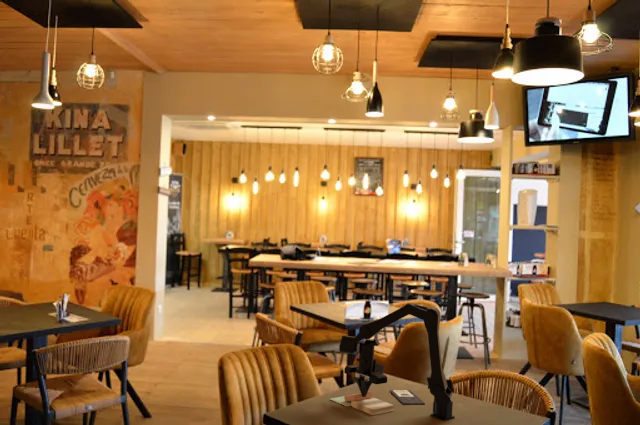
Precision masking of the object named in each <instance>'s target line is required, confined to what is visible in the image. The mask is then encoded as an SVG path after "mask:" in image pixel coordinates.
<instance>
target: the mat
mask: <svg viewBox="0 0 640 425" xmlns="http://www.w3.org/2000/svg"><path fill="white" fill-rule="evenodd" d="M352 395H354V394H352ZM344 396H345V395H343V396H337V397H331V398H329V401H331V400H332V401H331V402H333V403H337V404H339V405H341V404H342V406H343V405H344V407H346V406H347V407H351V401H345V399H344Z"/></svg>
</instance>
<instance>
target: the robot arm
mask: <svg viewBox="0 0 640 425" xmlns="http://www.w3.org/2000/svg"><path fill="white" fill-rule="evenodd" d="M409 315H410V316H412V317H414V318H417V319H419V320H422V321H423V324H424V327H425V329H426V332H427V339H428V348H429V360H430V369H431V372H430V373H429V374H428V375H427V377H426V381H427V385H428V386H427V390H429V393H430V394H431V395H432V396H433V403H432V413H430V416H431V417H433V418H436V419H439V420H441V421H446V420H451V419H455V417H456V416H455V415H453V404H454V403H453V400H452V396H453V394H454V393H453V391H452V389H451V388H449V387H448V382H447V379H446V375H445V372H444V370H443V364H442V353H441V344H440V343H441V342H440V333H439V331H440V324H441V311H440V309H438V307H436V306H431V307H430V306H429V307H428V306H424V305H420V304H417V303H416V304H415V303H412V302H407V303H406V304H405V305H403V306H402V307H399V308H398V309H395V310H393V311H392V312H390V313H389V314H386V315H385V316H383V317H380V318H379V319H375V320H371V321H367V322H366V323H363V324H362V325H360V327H359V330H358V333H357V334H356V335H355V336H351V335H346V334H343V335H342V336H341V339H340V343H339V345H338V351H339V352H340V353H342V354H348V355H356V353H358V357H356V362H358V365H357V364H351V365H345V367H344V370H343V372H344V374H346V375H351V374H352V373H353V374H355V375H354V376H353V379H354V380H355V382H356V385H357V387H358V390H359V391H360V393H361V394H362V397H366V395H367V392H369V390H370V387H371V386H372V384H374V385H382V384H388V376H387V375H386V374H384V371H385V369H386V366H385V365H382V364H380V363H377V359H376V358H375V347H378V346H380V345H381V343H380V341H379V340H377V338H374V339H372V338H373V337H374V336H376V335H377V334H379V332H381V331H382V330H383V329H384V328H386V327H388V326H390V325H392V324H395V323H396V322H398V321H399V320H401V319H403V318H405V317H407V316H409ZM371 339H372V340H371ZM362 340H364V341H362Z"/></svg>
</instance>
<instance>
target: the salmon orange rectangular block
mask: <svg viewBox="0 0 640 425" xmlns="http://www.w3.org/2000/svg"><path fill="white" fill-rule="evenodd" d="M343 396H344V399H345V401H354V400H360V399H365V398H371V397H373V393H372V391H368V392H367V395H366V397H362V394H361V392H360V393H355V394H354V395H353V394H350V395H349V394H348V395H343Z"/></svg>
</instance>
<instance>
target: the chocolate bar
mask: <svg viewBox="0 0 640 425" xmlns="http://www.w3.org/2000/svg"><path fill="white" fill-rule="evenodd" d="M389 391H390V392H391V393H392V394H391V393H390V392H389V393H390V394H391V395H393V397H394V398H396V400H398V401H399V402H400V404H401V405H405V406H407V405H410V406H411V405H412V406H414V405H419V406H420V405H421V406H422V405H426V403H425V402H424V401H423V399H421V398H420V397H418V396H417V395H416V394H415V393H414V392H413V391H412V390H411V389H410V390H408V389H407V390H404V389H403V390H402V389H398V390H397V389H396V390H395V389H390V390H389Z"/></svg>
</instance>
